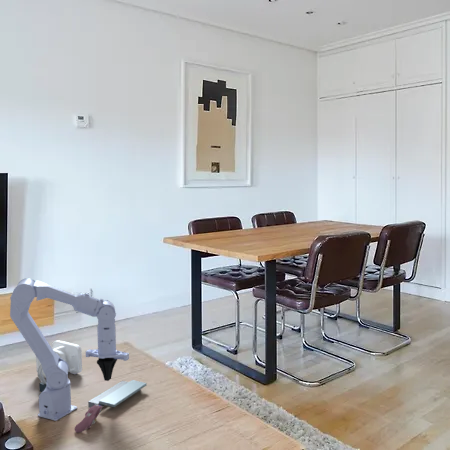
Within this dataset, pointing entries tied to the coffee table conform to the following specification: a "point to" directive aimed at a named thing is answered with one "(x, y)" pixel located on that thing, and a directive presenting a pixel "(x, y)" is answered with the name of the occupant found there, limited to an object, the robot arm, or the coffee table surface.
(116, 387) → the rail
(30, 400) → the coffee table surface
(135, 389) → the panel
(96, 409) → the video game controller
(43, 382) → the watch
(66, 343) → the cable organizer
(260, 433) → the coffee table surface
